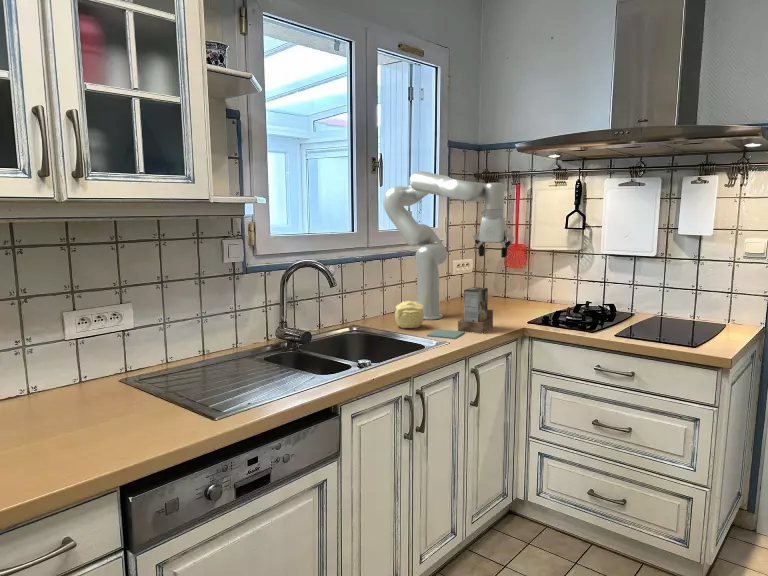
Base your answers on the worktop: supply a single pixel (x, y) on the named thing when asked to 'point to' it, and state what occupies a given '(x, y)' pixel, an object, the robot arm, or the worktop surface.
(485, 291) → the coffee box
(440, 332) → the mat
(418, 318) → the sculpture
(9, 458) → the worktop surface
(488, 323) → the packet holder
